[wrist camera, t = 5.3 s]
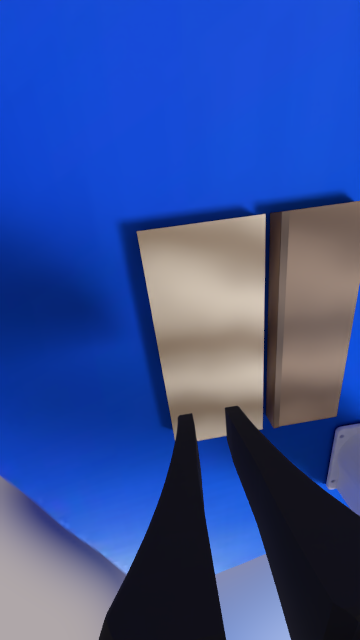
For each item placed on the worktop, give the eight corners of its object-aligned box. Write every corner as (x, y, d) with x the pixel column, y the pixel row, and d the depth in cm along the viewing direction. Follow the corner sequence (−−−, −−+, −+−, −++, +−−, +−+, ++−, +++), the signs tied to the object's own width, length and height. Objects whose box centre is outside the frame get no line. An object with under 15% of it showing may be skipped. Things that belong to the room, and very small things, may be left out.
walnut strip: (325, 405, 23) (337, 417, 21) (266, 415, 23) (273, 428, 21) (355, 201, 16) (375, 198, 14) (270, 213, 16) (281, 211, 14)
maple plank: (256, 416, 22) (262, 429, 21) (174, 431, 22) (175, 444, 21) (255, 215, 16) (265, 213, 14) (138, 231, 15) (136, 231, 14)
